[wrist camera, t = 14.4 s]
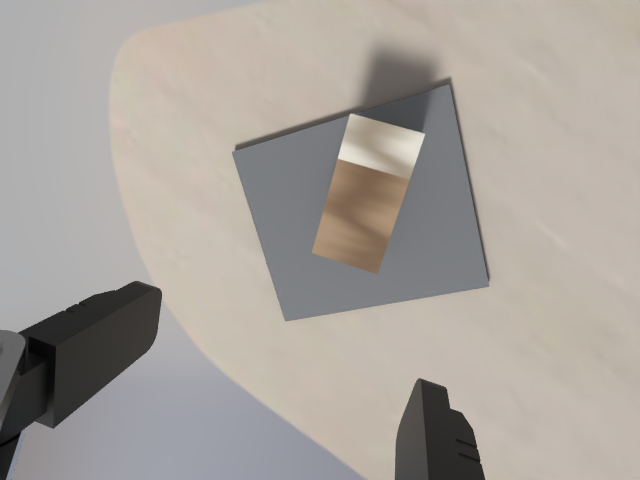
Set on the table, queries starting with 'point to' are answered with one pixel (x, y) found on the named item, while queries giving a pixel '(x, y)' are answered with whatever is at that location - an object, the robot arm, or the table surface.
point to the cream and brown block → (366, 192)
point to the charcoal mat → (409, 230)
